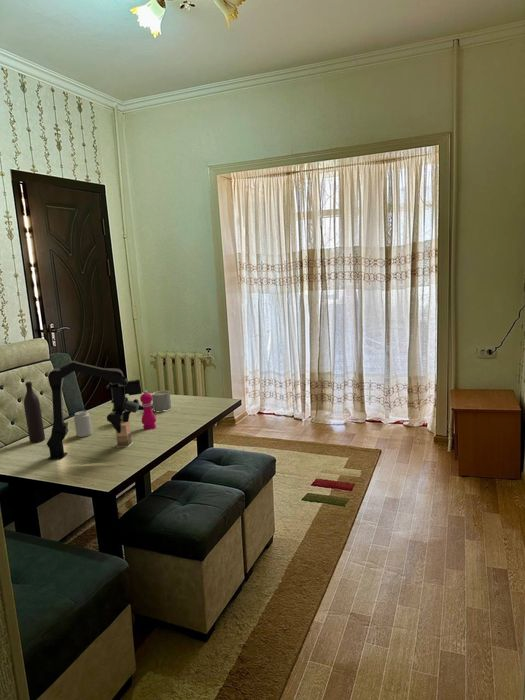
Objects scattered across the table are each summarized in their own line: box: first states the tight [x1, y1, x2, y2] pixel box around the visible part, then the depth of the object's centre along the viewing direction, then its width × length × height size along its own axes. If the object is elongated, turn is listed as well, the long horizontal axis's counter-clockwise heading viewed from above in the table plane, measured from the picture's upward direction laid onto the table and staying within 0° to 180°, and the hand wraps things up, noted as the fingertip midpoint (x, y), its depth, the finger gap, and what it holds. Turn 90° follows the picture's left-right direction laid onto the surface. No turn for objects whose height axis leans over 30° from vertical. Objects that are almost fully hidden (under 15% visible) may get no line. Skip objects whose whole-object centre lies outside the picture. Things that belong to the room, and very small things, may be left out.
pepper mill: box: [139, 390, 157, 431], centre depth 250 cm, size 7×7×20 cm
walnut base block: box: [116, 432, 133, 448], centre depth 227 cm, size 5×5×5 cm
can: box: [73, 410, 93, 438], centre depth 247 cm, size 8×8×12 cm
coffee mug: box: [151, 390, 172, 411], centre depth 283 cm, size 13×10×10 cm
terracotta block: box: [114, 421, 132, 436], centre depth 226 cm, size 5×5×5 cm
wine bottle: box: [23, 381, 46, 444], centre depth 243 cm, size 7×7×30 cm
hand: (123, 429), depth 226 cm, fingers open, 9 cm apart
